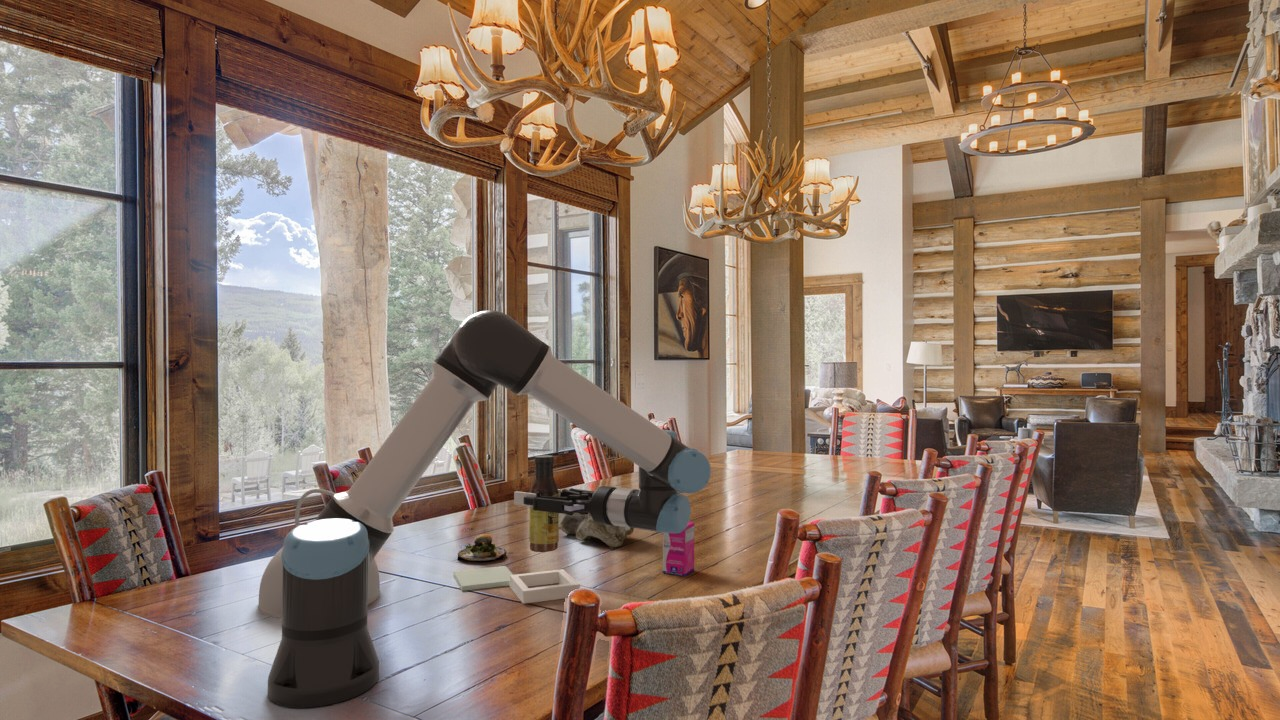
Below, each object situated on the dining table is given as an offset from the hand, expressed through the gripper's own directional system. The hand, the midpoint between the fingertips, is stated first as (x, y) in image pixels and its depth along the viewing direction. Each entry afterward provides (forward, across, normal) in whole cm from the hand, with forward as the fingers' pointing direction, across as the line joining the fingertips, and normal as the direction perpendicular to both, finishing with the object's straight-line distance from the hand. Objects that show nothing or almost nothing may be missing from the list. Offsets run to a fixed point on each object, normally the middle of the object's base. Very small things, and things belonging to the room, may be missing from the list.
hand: (526, 495), depth 151 cm
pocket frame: (-5, 0, -20) cm, 21 cm away
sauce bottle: (-5, 0, -11) cm, 12 cm away
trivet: (+11, 0, -20) cm, 23 cm away
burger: (+25, +13, -20) cm, 35 cm away
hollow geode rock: (+13, +45, -20) cm, 51 cm away
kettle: (+30, -28, -20) cm, 45 cm away
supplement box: (-23, +28, -20) cm, 41 cm away
